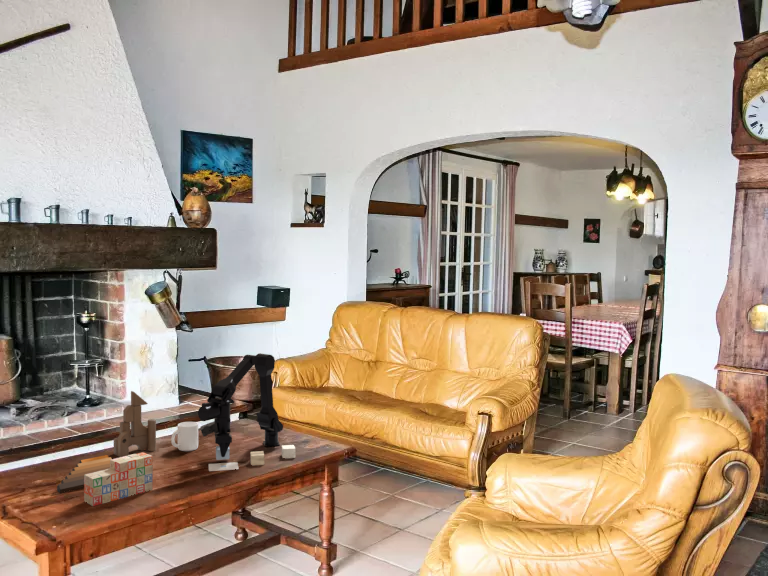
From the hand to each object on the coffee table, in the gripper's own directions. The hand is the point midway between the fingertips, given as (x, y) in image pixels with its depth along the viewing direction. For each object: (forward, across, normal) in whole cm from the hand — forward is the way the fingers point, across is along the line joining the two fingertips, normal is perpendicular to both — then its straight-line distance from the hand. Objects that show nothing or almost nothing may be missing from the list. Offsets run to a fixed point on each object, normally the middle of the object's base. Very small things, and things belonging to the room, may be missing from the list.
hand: (222, 454), depth 270 cm
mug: (+3, -19, -15) cm, 24 cm away
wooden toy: (+3, -19, -34) cm, 39 cm away
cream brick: (+3, -1, +26) cm, 26 cm away
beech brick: (+3, +5, +13) cm, 14 cm away
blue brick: (+1, 0, 0) cm, 1 cm away
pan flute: (+3, +7, -49) cm, 50 cm away
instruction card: (+3, +7, 0) cm, 7 cm away
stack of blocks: (+3, +30, -35) cm, 46 cm away
